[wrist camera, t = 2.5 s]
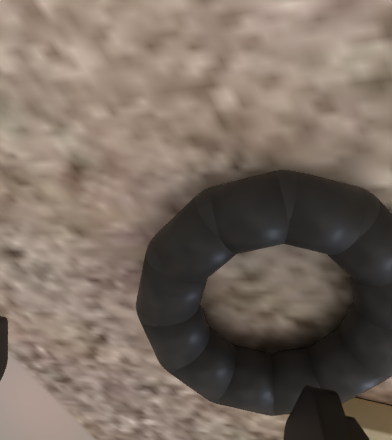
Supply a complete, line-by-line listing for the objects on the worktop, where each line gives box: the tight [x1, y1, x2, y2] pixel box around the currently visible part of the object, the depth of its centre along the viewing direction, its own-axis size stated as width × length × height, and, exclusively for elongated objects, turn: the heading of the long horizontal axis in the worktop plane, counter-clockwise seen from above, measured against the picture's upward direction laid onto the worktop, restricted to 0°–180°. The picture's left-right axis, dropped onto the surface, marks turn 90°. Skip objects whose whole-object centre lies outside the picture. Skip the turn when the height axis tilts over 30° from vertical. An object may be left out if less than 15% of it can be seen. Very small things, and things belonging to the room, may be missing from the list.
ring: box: [136, 170, 392, 416], centre depth 13 cm, size 10×10×2 cm
